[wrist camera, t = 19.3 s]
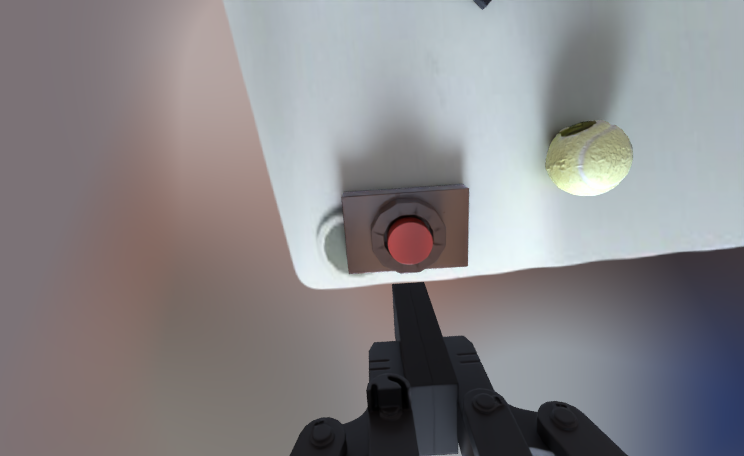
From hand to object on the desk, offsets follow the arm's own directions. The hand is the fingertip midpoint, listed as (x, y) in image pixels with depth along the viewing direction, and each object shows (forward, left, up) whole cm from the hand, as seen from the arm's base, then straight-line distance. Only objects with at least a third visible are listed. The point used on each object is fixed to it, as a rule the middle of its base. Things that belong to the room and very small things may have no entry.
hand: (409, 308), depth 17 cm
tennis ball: (+18, +4, -20) cm, 27 cm away
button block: (+2, -2, -20) cm, 20 cm away
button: (+2, -2, -16) cm, 17 cm away
